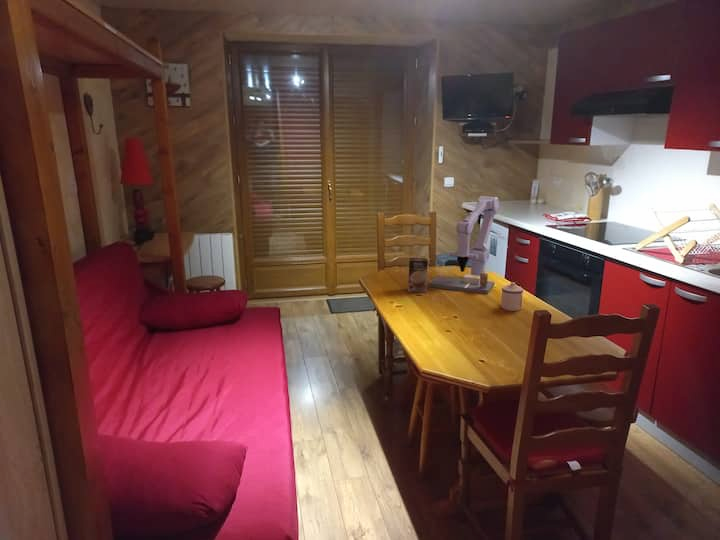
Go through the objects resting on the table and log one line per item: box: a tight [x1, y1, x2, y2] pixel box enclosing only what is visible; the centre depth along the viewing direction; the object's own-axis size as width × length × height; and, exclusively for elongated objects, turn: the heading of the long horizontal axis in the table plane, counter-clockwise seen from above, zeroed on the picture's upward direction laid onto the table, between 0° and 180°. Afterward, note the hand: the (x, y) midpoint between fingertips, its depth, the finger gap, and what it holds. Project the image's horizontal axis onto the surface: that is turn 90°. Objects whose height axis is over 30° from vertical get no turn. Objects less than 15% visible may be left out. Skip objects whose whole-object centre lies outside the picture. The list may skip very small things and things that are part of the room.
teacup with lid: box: [500, 281, 524, 312], centre depth 218 cm, size 12×9×12 cm
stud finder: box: [462, 274, 480, 284], centre depth 250 cm, size 5×8×3 cm, turn 63°
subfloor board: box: [427, 274, 495, 295], centre depth 251 cm, size 16×30×2 cm, turn 64°
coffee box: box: [407, 257, 429, 293], centre depth 243 cm, size 9×6×16 cm
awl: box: [480, 272, 489, 288], centre depth 241 cm, size 4×4×7 cm
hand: (462, 271), depth 252 cm, fingers closed
